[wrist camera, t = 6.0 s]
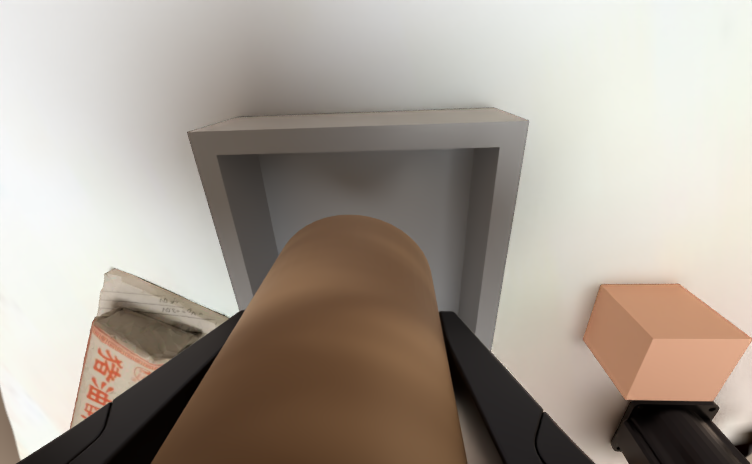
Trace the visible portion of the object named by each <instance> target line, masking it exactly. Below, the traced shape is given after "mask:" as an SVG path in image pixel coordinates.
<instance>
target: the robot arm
mask: <svg viewBox="0 0 752 464" xmlns="http://www.w3.org/2000/svg"><path fill="white" fill-rule="evenodd" d="M244 311H245V310H241V311H239V312H238V313H236V314H235V315H234V316H232V317H231V318H229V319H228V320H226V321H225V322H223V323H222V324H221V325H219V326H218V327H216V328H215V329H213V330H212V331H211V332H209V333H208V334H206V335H205V336H203V337H202V338H201V339H199V340H198V341H196V342H195V343H193V344H192V345H191V346H189V347H188V348H186V349H185V350H183V351H182V352H181V353H179V354H178V355H176V356H175V357H173V358H172V359H170V360H169V361H168V362H166V363H165V364H163V365H162V366H160V367H159V368H158V369H156V370H155V371H153V372H152V373H150V374H149V375H148V376H146V377H145V378H143V379H142V380H140V381H139V382H138V383H136V384H135V385H133V386H132V387H130V388H129V389H127V390H126V391H125V392H123V393H122V394H120V395H119V396H117V397H116V398H115V399H113V401H112V402H109V403H107V404H106V405H104V406H103V407H102V408H100V409H99V410H97V411H96V412H94V413H93V414H92V415H90V416H89V417H87V418H86V419H84V420H83V421H81V422H80V423H78V424H77V425H75V426H74V427H72V428H71V429H69V430H68V431H66V432H65V433H63V434H62V435H60V436H59V437H57V438H56V439H54V440H53V441H51V442H50V443H48V444H46V445H45V446H43V447H42V448H40V449H39V450H37V451H35V452H34V453H32V454H31V455H29V456H28V457H26V458H24V459H23V460H21V461H20V462H18V463H17V464H151V462H152V461H153V459H154V457H155V456H156V454H157V453H158V451H159V449H160V448H161V446H162V444H163V443H164V441H165V440H166V438H167V436H168V435H169V433H170V431H171V430H172V428H173V427H174V425H175V423H176V422H177V420H178V418H179V417H180V415H181V414H182V412H183V410H184V409H185V407H186V405H187V404H188V402H189V401H190V399H191V397H192V396H193V394H194V392H195V391H196V389H197V388H198V386H199V384H200V383H201V381H202V380H203V378H204V376H205V375H206V373H207V371H208V370H209V368H210V367H211V365H212V363H213V362H214V360H215V358H216V357H217V355H218V354H219V352H220V350H221V349H222V347H223V345H224V344H225V342H226V341H227V339H228V337H229V336H230V334H231V332H232V331H233V329H234V328H235V326H236V324H237V323H238V321H239V319H240V318H241V316H242V315H243V313H244ZM439 316H440V322H441V327H442V332H443V337H444V343H445V348H446V353H447V358H448V363H449V369H450V374H451V379H452V384H453V390H454V395H455V400H456V405H457V411H458V416H459V421H460V426H461V431H462V437H463V442H464V447H465V452H466V458H467V463H468V464H595V463H594V462H593V461H592V460H591V459H590V458H589V457H588V456H587V455H586V454H585V453H584V452H583V451H582V450H581V449H580V448H579V447H578V446H577V445H576V444H575V443H574V442H573V441H572V440H571V439H570V438H569V437H568V435H567V434H566V433H565V432H564V431H563V430H562V429H561V428H560V427H559V426H558V425H557V424H556V423H555V422H554V421H553V419H552V418H551V417H550V416H549V415H548V414H547V413H546V412H543V409H542V408H541V406H540V405H539V404H538V403H537V402H536V401H535V400H534V399H533V398H532V397H531V395H530V394H529V393H528V392H527V391H526V390H525V389H524V388H523V387H522V386H521V384H520V383H519V382H518V381H517V380H516V379H515V378H514V377H513V376H512V375H511V373H510V372H509V371H508V370H507V369H506V368H505V367H504V366H503V365H502V364H501V363H500V361H499V360H498V359H497V358H496V357H495V356H494V355H493V354H492V353H491V352H490V350H489V349H488V348H487V347H486V346H485V345H484V344H483V343H482V342H481V341H480V339H479V338H478V337H477V336H476V335H475V334H474V333H473V332H472V331H471V330H470V328H469V327H468V326H467V325H466V324H465V323H464V322H463V321H462V320H461V319H460V318H459V316H458V315H457V314H456V313H455V312H453V311H440V312H439ZM718 410H719V406H718V405H717V404H716V403H715V402H713V401H663V400H633V401H632V402H631V403H630V405H629V407H628V409H627V411H626V413H625V415H624V417H623V419H622V421H621V423H620V425H619V428H618V430H617V432H616V434H615V436H614V438H613V440H612V442H611V446H612V448H613V449H614V450H615V451H620V452H622V453H623V455H624V456H625V458H626V460H627V461H628V463H629V464H750V463H749V461H748V460H747V459H746V458H745V457H744V456H743V455H742V454H741V453H740V452H739V450H738V449H737V448H736V447H735V446H734V445H733V444H732V443H731V442H730V440H729V439H728V438H727V437H726V436H725V435H724V434H723V433H722V432H721V431H720V429H719V428H718V427H717V426H716V425H715V424H714V423H713V422H712V419H713V418H714V416H715V415H716V413H717V412H718Z"/></svg>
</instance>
